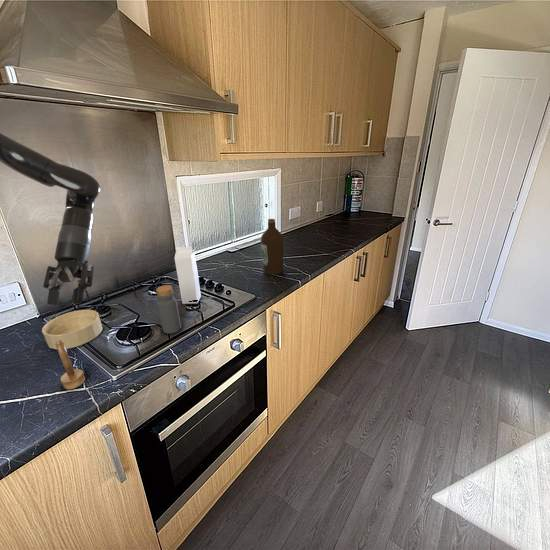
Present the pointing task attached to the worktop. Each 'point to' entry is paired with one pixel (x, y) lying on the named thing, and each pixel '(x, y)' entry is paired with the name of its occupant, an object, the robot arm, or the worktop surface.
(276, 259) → the olive oil
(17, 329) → the worktop surface
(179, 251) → the milk
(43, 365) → the worktop surface
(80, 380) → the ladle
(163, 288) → the bottle
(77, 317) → the bowl
